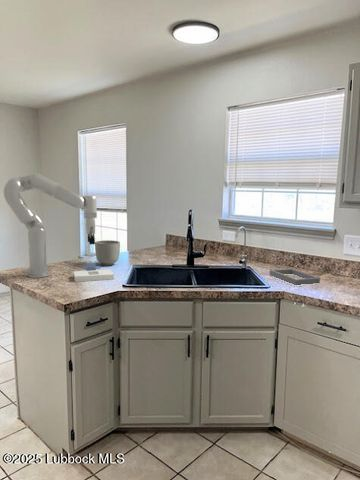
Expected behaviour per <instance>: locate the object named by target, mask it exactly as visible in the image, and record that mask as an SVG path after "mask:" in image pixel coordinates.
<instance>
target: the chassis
mask: <svg viewBox="0 0 360 480" xmlns="http://www.w3.org/2000/svg"><path fill="white" fill-rule="evenodd" d="M114 275H115V274H114V273H113V271H111V269H96V270H92V271H86V270H80V271H78V270H77V271H76V270H75V271H74V270H73V278H74V282H75V283H79V282H93V281H108V280H110V281H111V280H114Z"/></svg>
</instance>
